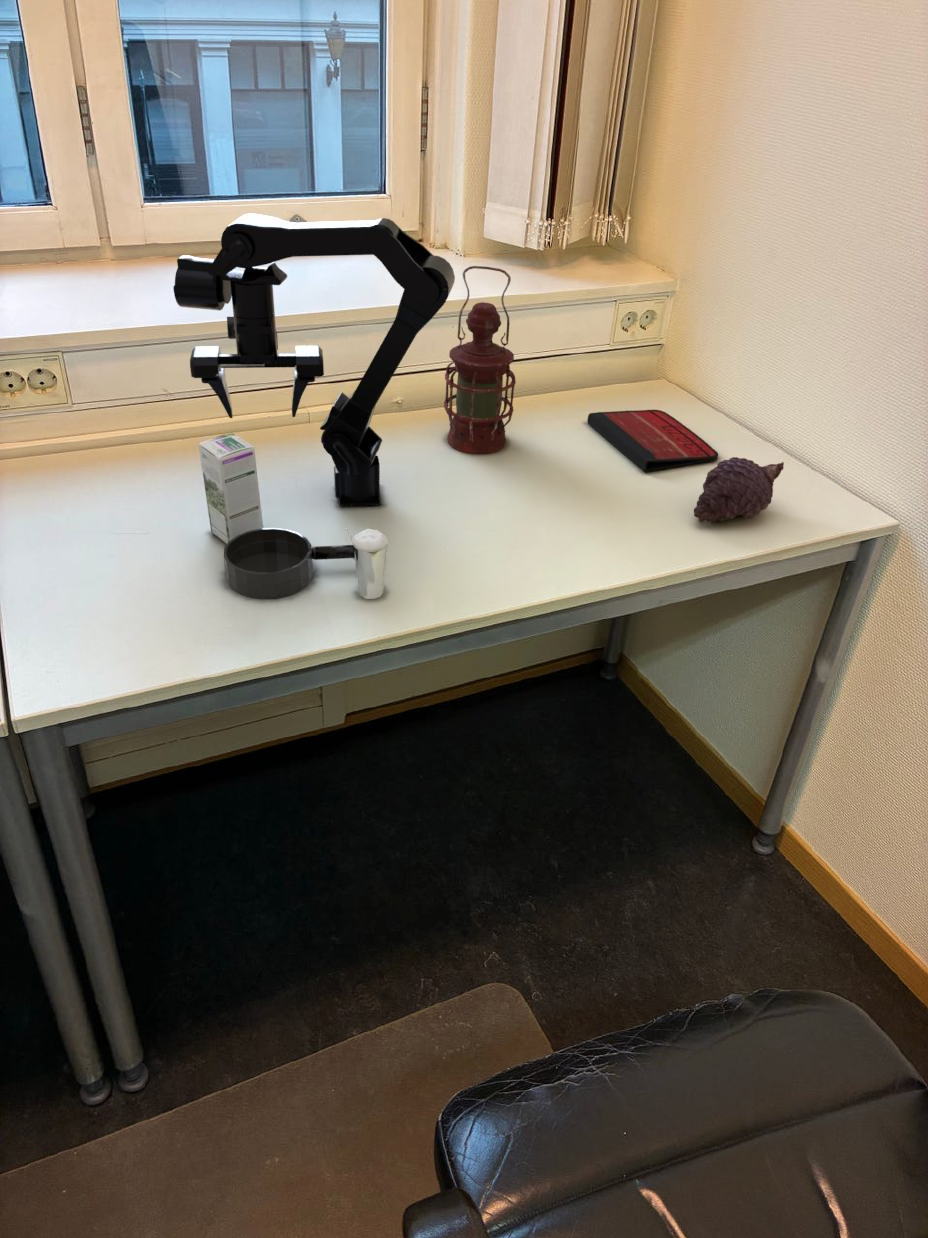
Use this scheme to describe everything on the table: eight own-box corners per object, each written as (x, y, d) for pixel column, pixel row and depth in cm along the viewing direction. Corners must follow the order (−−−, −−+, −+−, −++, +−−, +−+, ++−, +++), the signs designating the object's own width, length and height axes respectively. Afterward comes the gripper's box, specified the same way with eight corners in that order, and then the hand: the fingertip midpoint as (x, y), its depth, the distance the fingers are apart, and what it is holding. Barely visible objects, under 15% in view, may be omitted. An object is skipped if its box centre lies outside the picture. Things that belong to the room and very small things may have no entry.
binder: (646, 460, 155) (587, 411, 170) (643, 473, 156) (585, 423, 172) (725, 452, 160) (661, 406, 176) (721, 464, 162) (658, 417, 177)
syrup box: (265, 536, 134) (257, 444, 125) (229, 549, 130) (218, 456, 122) (244, 520, 137) (234, 430, 128) (208, 533, 134) (196, 441, 125)
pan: (312, 550, 131) (310, 526, 129) (314, 596, 122) (312, 571, 120) (228, 553, 129) (225, 529, 127) (224, 601, 120) (221, 575, 118)
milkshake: (348, 583, 125) (346, 519, 119) (387, 583, 125) (387, 519, 120) (347, 602, 121) (345, 537, 115) (388, 602, 122) (388, 537, 116)
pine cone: (725, 545, 138) (701, 485, 135) (685, 544, 147) (662, 487, 145) (809, 492, 143) (788, 433, 140) (766, 494, 152) (745, 438, 150)
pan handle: (382, 552, 127) (382, 541, 126) (383, 559, 126) (383, 548, 125) (309, 555, 126) (308, 544, 125) (309, 562, 124) (308, 551, 123)
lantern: (434, 450, 159) (440, 272, 142) (451, 422, 169) (458, 252, 151) (503, 460, 157) (517, 281, 140) (516, 432, 167) (531, 260, 149)
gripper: (319, 295, 137) (323, 394, 146) (190, 294, 134) (202, 396, 143) (321, 319, 128) (325, 423, 138) (183, 319, 125) (197, 426, 135)
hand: (262, 416), depth 139 cm, fingers open, 9 cm apart
